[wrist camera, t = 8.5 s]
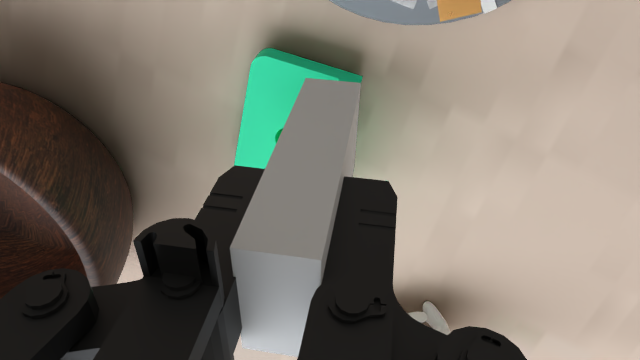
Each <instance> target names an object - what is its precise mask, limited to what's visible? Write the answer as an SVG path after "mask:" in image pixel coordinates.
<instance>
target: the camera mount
mask: <svg viewBox="0 0 640 360" xmlns="http://www.w3.org/2000/svg"><path fill="white" fill-rule="evenodd" d="M362 77H363V76H360V75H357V74H354V73H350V72H347V71H344V70H341V69H337V68H334V67H331V66H328V65H325V64H321V63H318V62H315V61H312V60H308V59H305V58H302V57H299V56H296V55H292V54H289V53H286V52H283V51H279V50H276V49H273V48H266V49H263V50H262V51H260V52H259V54H258V55H257V56H256V58H255V59H254V60H253V62H252V64H251V67H250V73H249V79H248V85H247V91H246V97H245V103H244V109H243V115H242V121H241V127H240V133H239V139H238V145H237V151H236V157H235V163H234V166H235V165H236V166H244V167H253V168H262V169H265V168H266V166H267V163H268V161H269V159H270V157H271V154H272V152H273V150H274V148H275V145H276V143H277V141H278V139H279V137H280V134H281V132H282V130H283V128H284V125H285V123H286V121H287V119H288V116H289V114H290V112H291V110H292V108H293V105H294V103H295V101H296V99H297V96H298V94H299V92H300V90H301V87H302V85H303V83H304V81H305V78H312V79H323V80H334V81H345V82H357V83H361V81H362Z"/></svg>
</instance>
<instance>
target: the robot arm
mask: <svg viewBox="0 0 640 360" xmlns="http://www.w3.org/2000/svg"><path fill="white" fill-rule="evenodd" d="M360 89H361V83H357V82H345V81H334V80H323V79H312V78H305V81H304V83H303V85H302V87H301V90H300V92H299V94H298V96H297V99H296V101H295V103H294V105H293V108H292V110H291V112H290V114H289V116H288V119H287V121H286V123H285V125H284V128H283V130H282V132H281V134H280V137H279V139H278V141H277V143H276V145H275V148H274V150H273V152H272V154H271V157H270V159H269V161H268V163H267V166H266V168H265V169H262V168H253V167H244V166H236V165H235V166H234V167H232V168H231V169H230V170H228V171H227V172H226V173H224V174H223V175H222V176H220V177H219V178H218V180H217V182H216V183H215V185H214V187H213V189H212V190H211V192H210V196H208V198H207V199H206V201H205V203H204V205H203V208H201V210H200V212H199V213H198V215H197V217H196V219H195V220H193V219H189V218H176V219H170V220H166V221H162V222H158V223H156V224H154V225H152V226H150V227H149V228H147V229H145V230H143V231H142V232H141V233H140V234H139V235H138V236H137V237H136V238H135V239H134V240H133V241H134V245H135V248H136V252H137V255H138V258H139V262H140V265H141V269H142V272H143V275H144V277H143V278H142V279H140V280H137V281H132V282H127V283H120V284H111V285H103V286H95V287H91V286H90V283H89V281H88V278H87V277H86V276H85V275H83V274H82V273H80V272H79V271H77V270H71V269H66V268H62V269H54V270H47V271H44V272H42V273H39V274H36V275H33V276H31V277H29V278H28V279H26V280H25V281H23V282H22V283H20V284H18V285H17V286H15V287H14V288H13V289H12V290H11V291H9V292H8V293H7V294H6V295H5V296H3V297H2V298H1V299H0V360H234V356H233V353H234V350H235V348H236V345H237V342H238V339H239V336H240V333H241V340H242V347H243V348H245V349H251V350H257V351H264V352H270V353H276V354H282V355H289V356H295V357H298V359H297V360H527V359H526V358H525V356H524V355H523V354H522V352H521V351H520V349H519V348H518V347H517V346H516V345H515V344H513V343H512V342H511V341H510V340H508V339H507V338H506V337H505V336H503V335H501V334H498V333H496V332H494V331H491V330H489V329H487V328H479V327H470V326H469V327H464V328H460V329H456V330H453V331H452V332H451V333H450V334H448V335H446V334H444V333H441V332H439V331H437V330H435V329H432V328H430V327H428V326H426V325H424V324H422V323H420V322H419V321H417V320H415V319H413V318H412V317H411V316H410V315H409V314H408V313H406V312H405V311H404V310H403V308H402V307H401V306H400V304H399V303H398V302H397V299H396V297H395V294H394V292H393V266H394V248H395V228H396V211H397V195H396V194H395V192H394V190H393V188H392V187H391V185H390V183H389V181H381V180H372V179H363V178H354V177H353V172H354V166H355V153H356V140H357V127H358V114H359V102H360Z"/></svg>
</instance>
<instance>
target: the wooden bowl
mask: <svg viewBox="0 0 640 360" xmlns="http://www.w3.org/2000/svg"><path fill="white" fill-rule="evenodd" d="M132 232H133V208H132V201H131V196H130V192H129V189H128V185H127V183H126V181H125V178H124V176H123V174H122V172H121V170H120V168H119V167H118V165H117V163H116V162H115V160H114V159H113V157H112V156H111V154H110V153H109V152H108V150H107V149H106V148H105V147H104V146H103V144H102V143H101V142H100V141H99V140H98V139H97V138H96V137H95V136H94V135H93V134H92V133H91V131H90V130H88V129H87V128H86V127H85V126H84V125H83V124H82V123H80V122H79V121H78V120H77V119H75V118H74V117H73V116H72V115H70V114H69V113H67V112H66V111H64V110H63V109H61V108H60V107H58V106H57V105H55V104H53V103H52V102H50V101H48V100H46V99H44V98H42V97H40V96H38V95H36V94H34V93H31V92H29V91H27V90H24V89H21V88H18V87H15V86H12V85H8V84H4V83H0V299H1V298H2V297H3V296H5V295H6V294H7V293H8V292H9V291H11V290H12V289H13V288H14V287H15V286H17V285H18V284H20V283H22V282H23V281H25V280H26V279H28V278H29V277H31V276H33V275H36V274H39V273H42V272H44V271H47V270H54V269H62V268H66V269H71V270H77V271H79V272H80V273H82V274H83V275H85V276H86V277H87V278H88V281H89V283H90V286H91V287H95V286H103V285H111V284H117V281H118V279H119V277H120V275H121V272H122V270H123V267H124V265H125V262H126V259H127V256H128V253H129V249H130V244H131V240H132Z"/></svg>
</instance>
